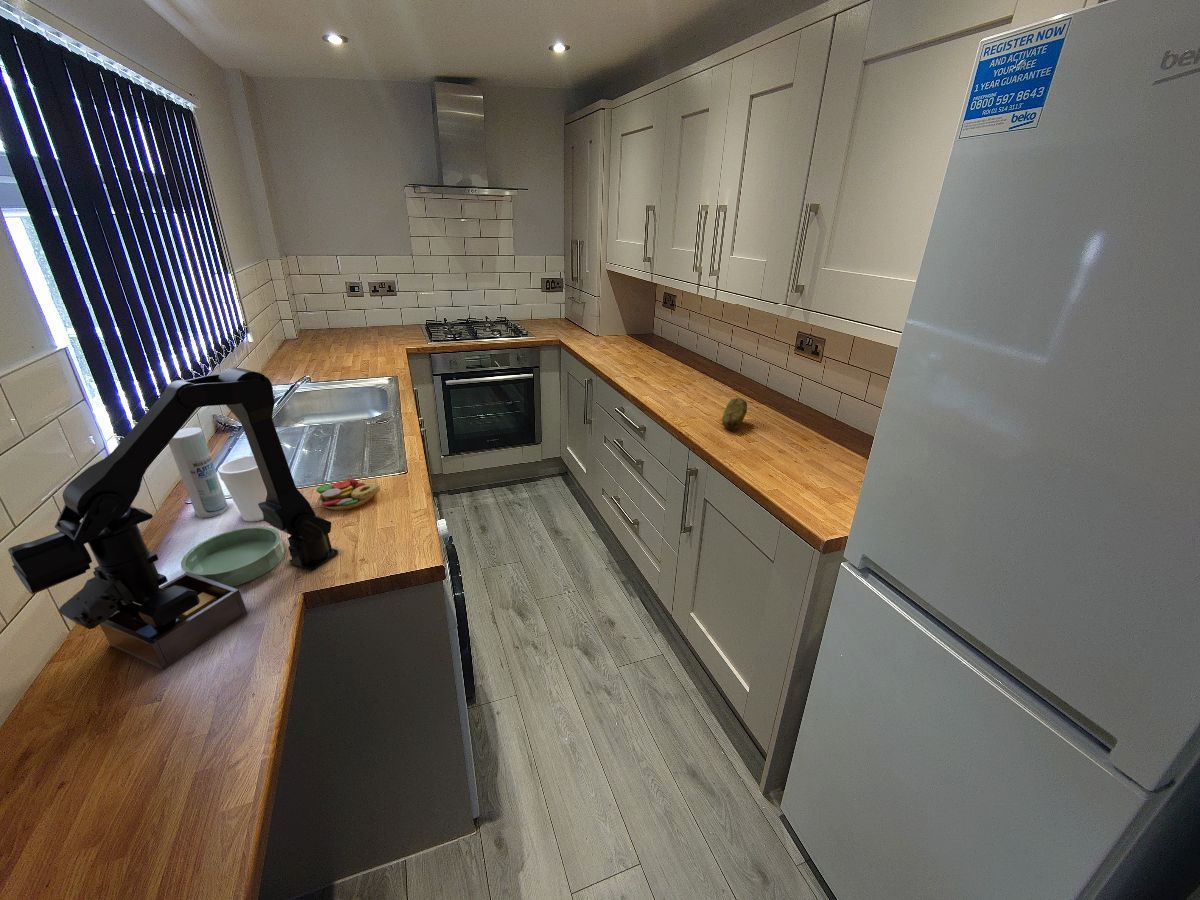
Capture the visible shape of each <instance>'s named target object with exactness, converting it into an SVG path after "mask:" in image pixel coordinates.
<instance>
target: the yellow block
mask: <svg viewBox="0 0 1200 900" xmlns="http://www.w3.org/2000/svg"><path fill="white" fill-rule="evenodd" d="M198 597H199V600H200V602H199V604H198V605H196V606H195V607H193V608H191V609H190V610H188V611H186V612H185V613H183V614H182V615H180V616H178V617H177V619H179V620H180V622H183V621H185V620H186V619H188V618H189V617H191V616H193V615H194V614H196V613H198V612H199V611H201V610H202V609H204V608H206V607H207V606H209V605H210V604H212V603H214V602H215V601H217V598H216V597H215V596H212V595H209V594H206V593H204V592H202V593H200V594H199V595H198Z"/></svg>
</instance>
